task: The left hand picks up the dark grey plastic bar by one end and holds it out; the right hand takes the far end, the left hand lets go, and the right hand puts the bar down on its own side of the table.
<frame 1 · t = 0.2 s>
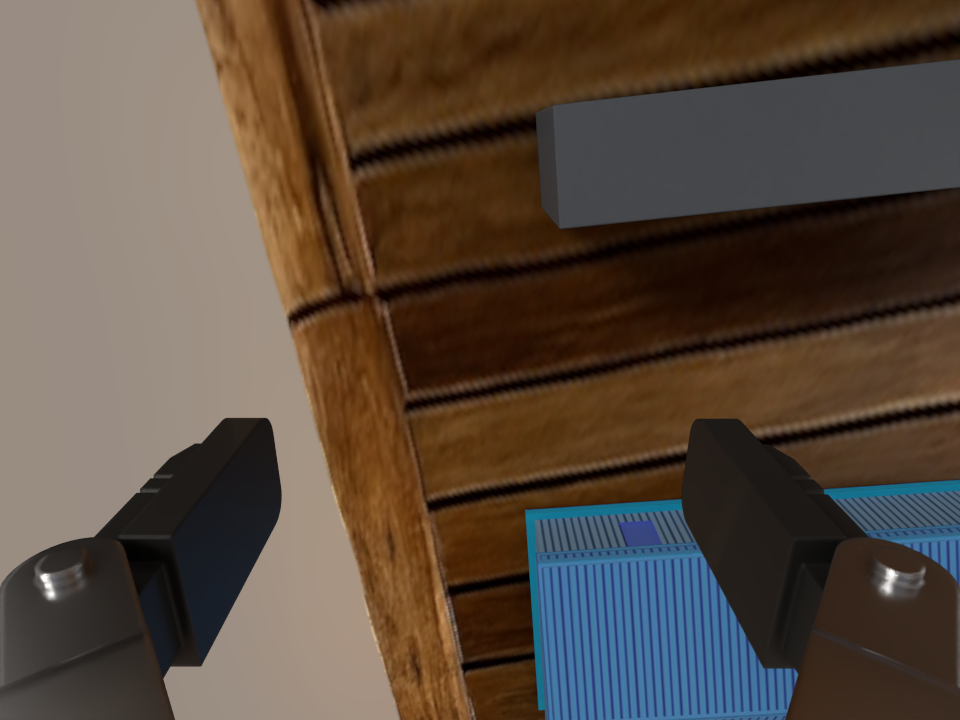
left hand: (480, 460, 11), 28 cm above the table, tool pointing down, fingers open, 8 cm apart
model building: (767, 610, 49), on the table
bar: (764, 137, 35), on the table
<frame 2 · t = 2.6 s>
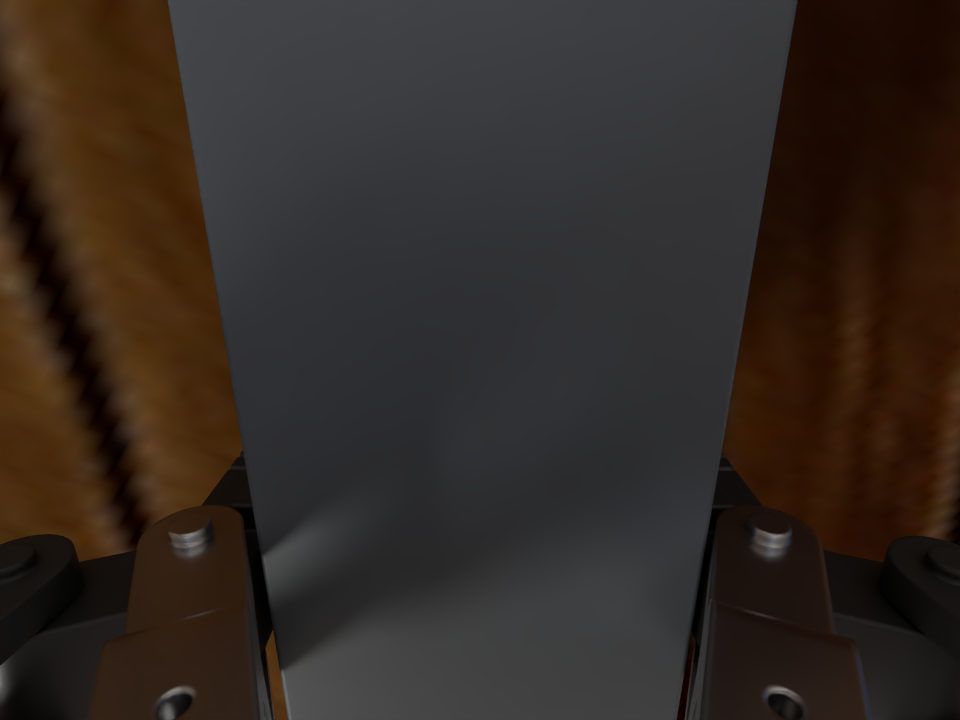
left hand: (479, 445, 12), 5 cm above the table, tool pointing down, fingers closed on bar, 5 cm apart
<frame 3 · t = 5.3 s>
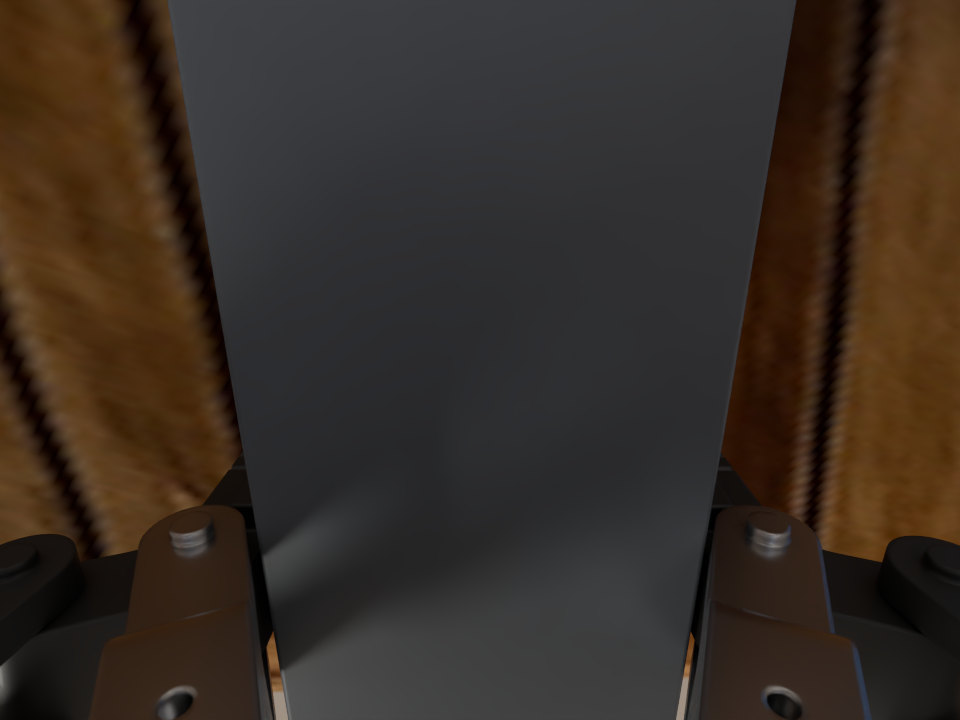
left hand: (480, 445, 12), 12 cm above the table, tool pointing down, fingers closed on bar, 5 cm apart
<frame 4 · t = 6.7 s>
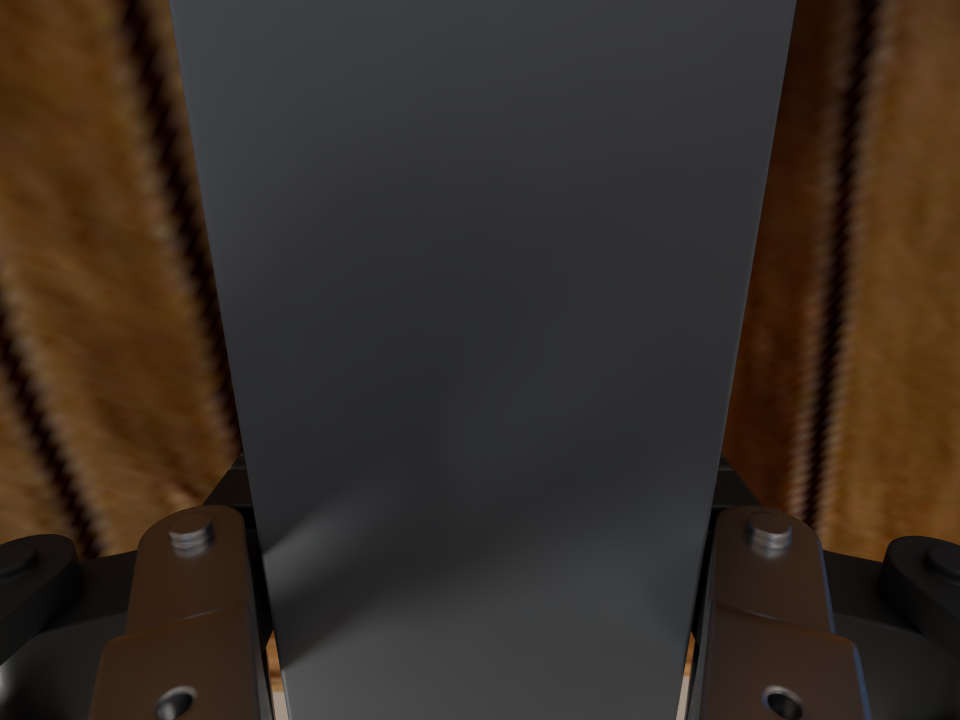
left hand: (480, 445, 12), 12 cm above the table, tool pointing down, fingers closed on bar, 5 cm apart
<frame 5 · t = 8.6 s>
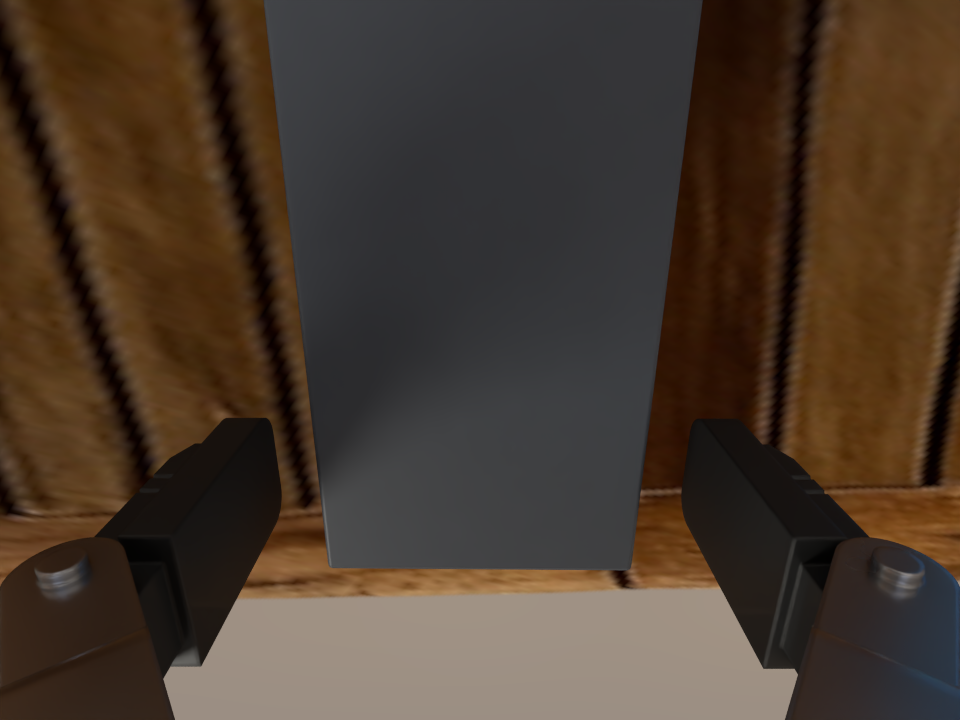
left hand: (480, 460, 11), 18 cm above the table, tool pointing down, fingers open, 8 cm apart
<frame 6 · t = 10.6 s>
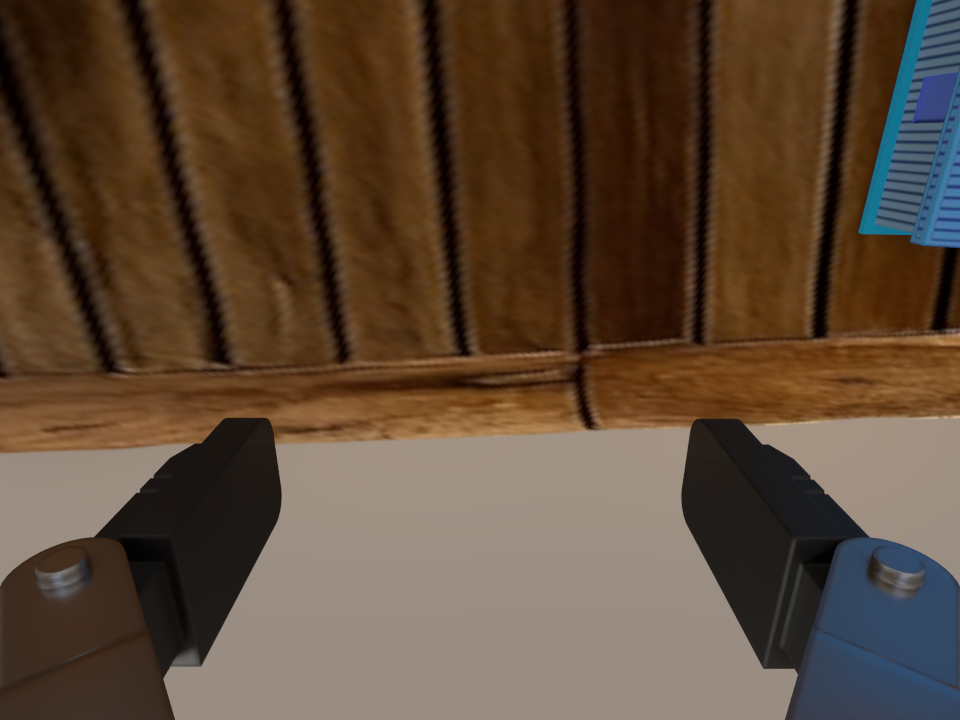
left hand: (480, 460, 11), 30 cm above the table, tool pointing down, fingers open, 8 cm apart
when the right hand's fingers open (6 cm above the table, at t = 12.1 s): bar drops 1 cm, on the table.
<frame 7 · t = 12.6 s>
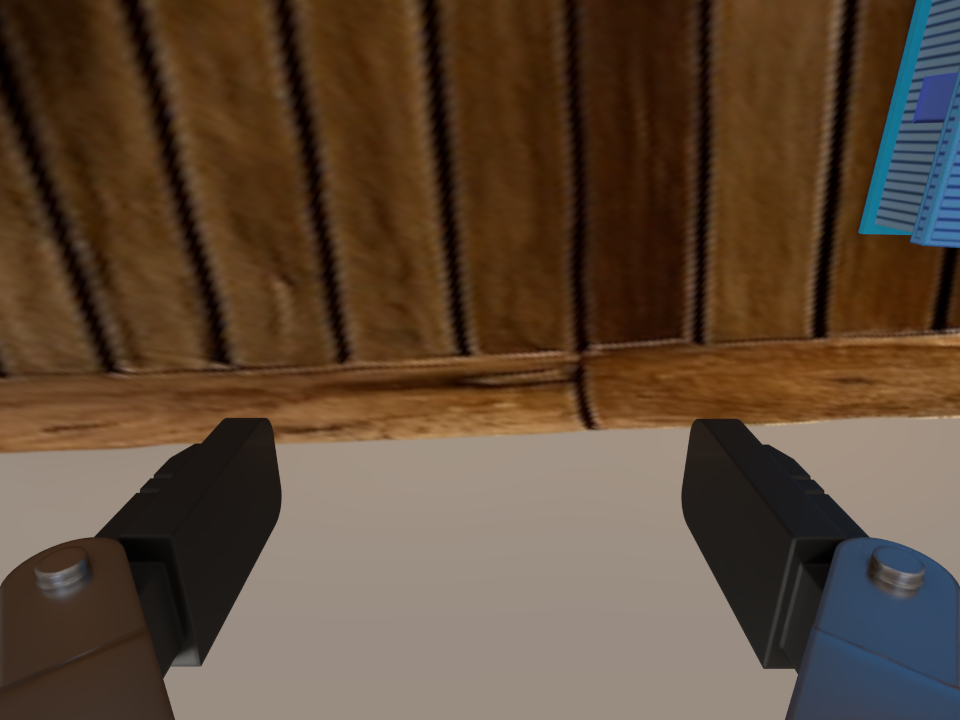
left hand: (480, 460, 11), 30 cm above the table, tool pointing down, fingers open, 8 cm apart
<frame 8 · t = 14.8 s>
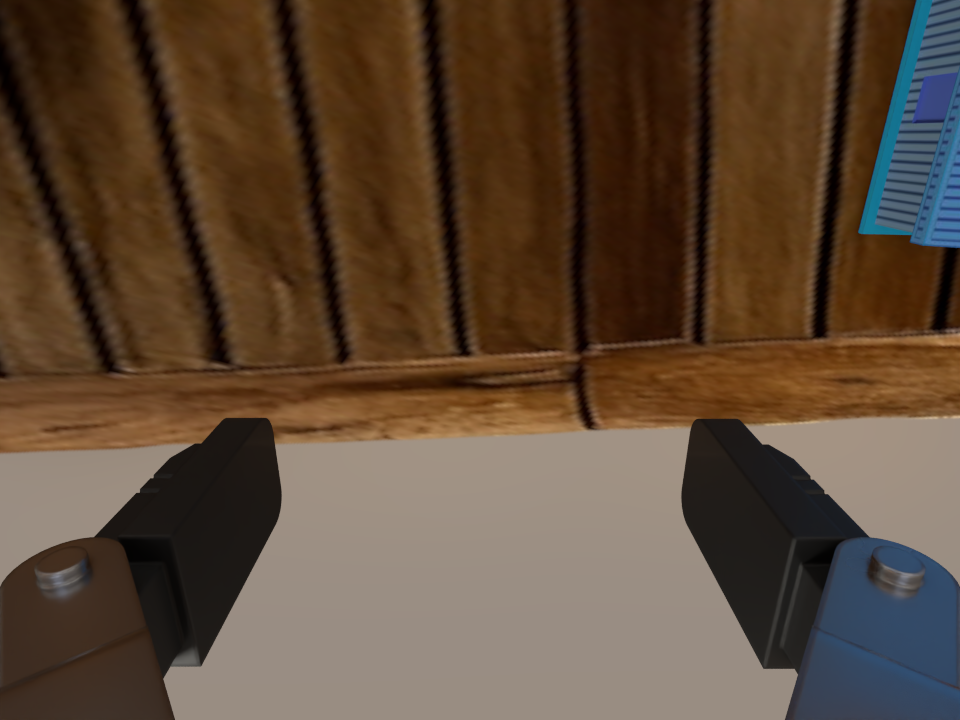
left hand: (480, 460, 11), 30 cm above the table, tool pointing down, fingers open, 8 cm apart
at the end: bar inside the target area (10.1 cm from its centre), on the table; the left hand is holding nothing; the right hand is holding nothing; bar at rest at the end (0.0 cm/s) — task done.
